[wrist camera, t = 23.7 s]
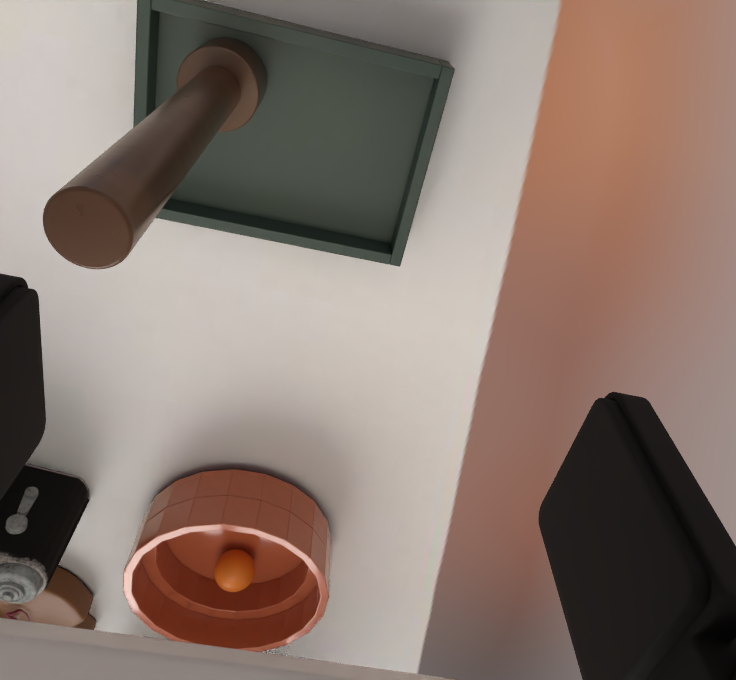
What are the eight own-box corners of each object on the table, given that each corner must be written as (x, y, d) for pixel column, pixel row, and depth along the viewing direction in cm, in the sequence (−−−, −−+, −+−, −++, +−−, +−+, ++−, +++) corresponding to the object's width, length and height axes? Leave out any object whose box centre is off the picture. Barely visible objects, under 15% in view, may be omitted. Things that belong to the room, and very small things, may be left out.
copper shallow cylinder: (347, 479, 45) (346, 541, 41) (313, 599, 53) (308, 662, 48) (150, 449, 44) (125, 510, 39) (142, 577, 51) (121, 641, 46)
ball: (230, 534, 48) (259, 553, 49) (203, 564, 48) (232, 582, 49) (236, 557, 45) (267, 577, 47) (207, 589, 45) (239, 607, 47)
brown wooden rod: (281, 69, 30) (196, 213, 14) (242, 131, 32) (126, 326, 16) (214, 19, 29) (39, 115, 13) (177, 86, 31) (-20, 247, 15)
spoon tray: (449, 61, 31) (455, 68, 29) (397, 251, 36) (400, 266, 34) (150, -12, 29) (137, -10, 27) (142, 199, 34) (130, 212, 32)
